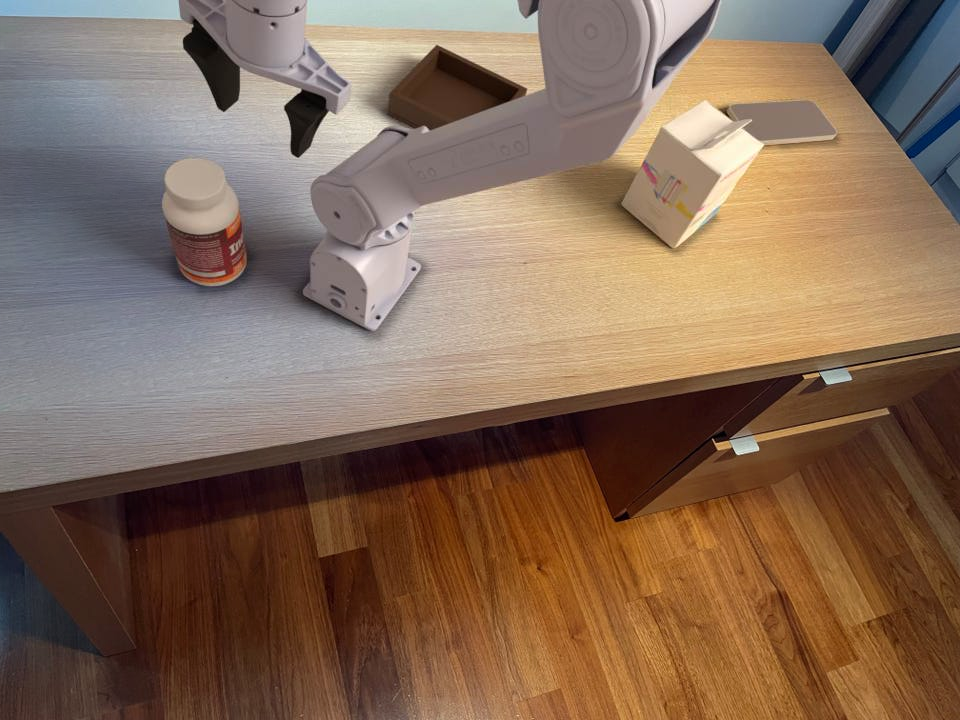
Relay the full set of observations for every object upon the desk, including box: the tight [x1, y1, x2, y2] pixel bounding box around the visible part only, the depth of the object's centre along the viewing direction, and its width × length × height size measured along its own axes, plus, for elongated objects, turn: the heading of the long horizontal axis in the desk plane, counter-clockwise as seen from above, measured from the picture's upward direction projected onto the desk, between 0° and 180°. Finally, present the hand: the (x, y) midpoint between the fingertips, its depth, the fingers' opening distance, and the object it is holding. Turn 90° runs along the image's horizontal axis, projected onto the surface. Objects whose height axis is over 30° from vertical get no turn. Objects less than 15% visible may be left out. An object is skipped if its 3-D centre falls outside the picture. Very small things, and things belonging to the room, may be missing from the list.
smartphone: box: [726, 99, 838, 146], centre depth 93 cm, size 7×1×15 cm
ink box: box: [620, 99, 765, 249], centre depth 75 cm, size 9×8×13 cm
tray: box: [387, 44, 528, 131], centre depth 81 cm, size 12×13×3 cm
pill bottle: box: [161, 157, 248, 287], centre depth 60 cm, size 6×6×11 cm
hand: (264, 127), depth 61 cm, fingers open, 7 cm apart
